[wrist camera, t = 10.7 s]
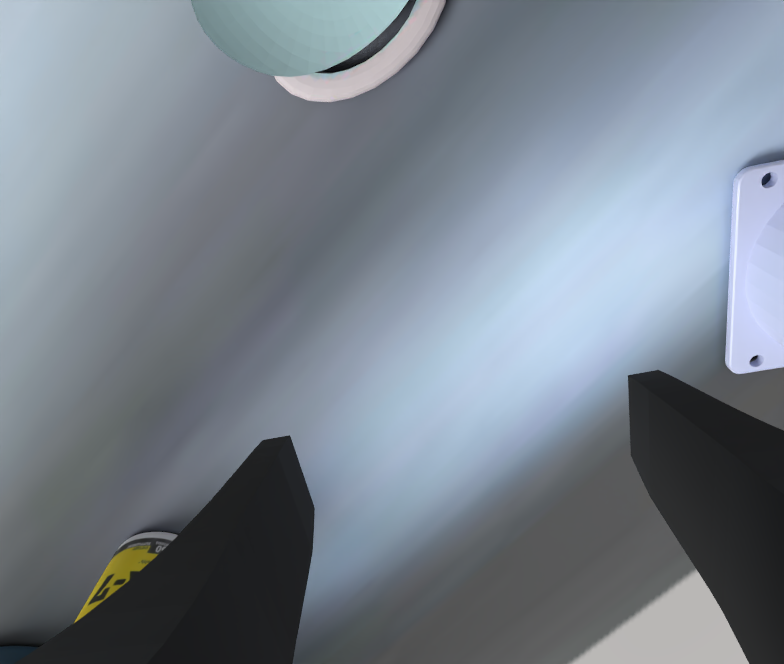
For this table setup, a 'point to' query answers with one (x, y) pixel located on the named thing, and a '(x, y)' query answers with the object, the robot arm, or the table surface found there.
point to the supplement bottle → (127, 565)
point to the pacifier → (317, 40)
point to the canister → (14, 653)
